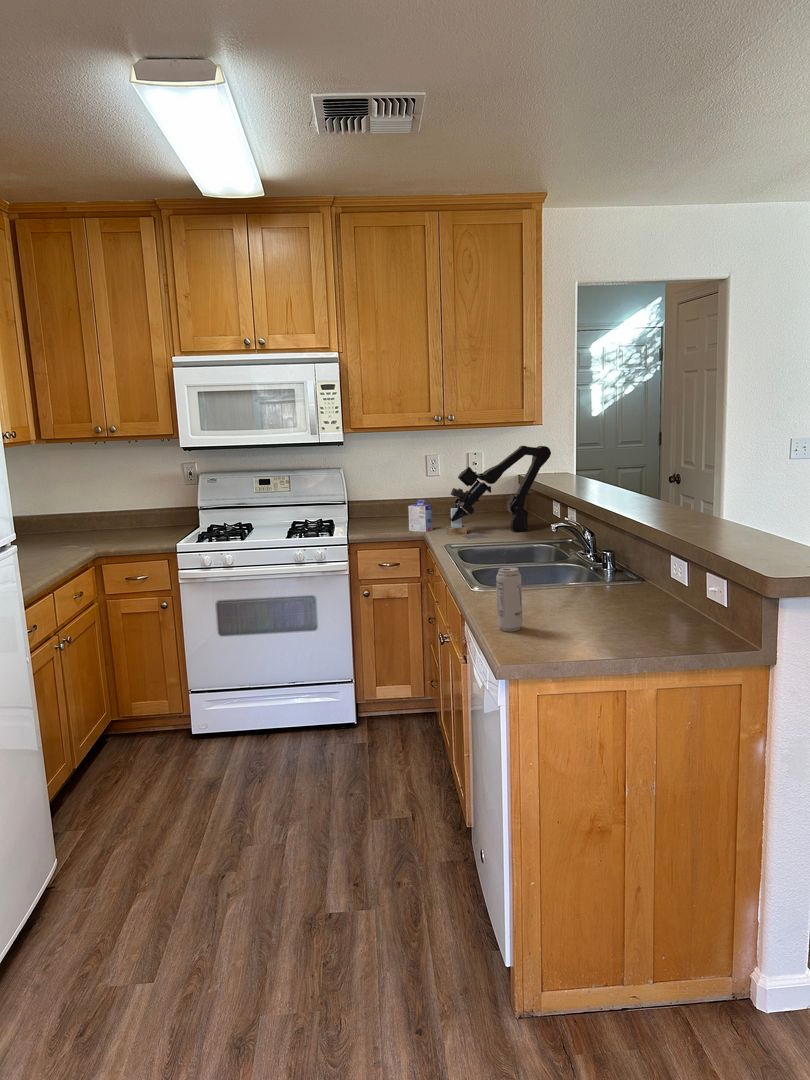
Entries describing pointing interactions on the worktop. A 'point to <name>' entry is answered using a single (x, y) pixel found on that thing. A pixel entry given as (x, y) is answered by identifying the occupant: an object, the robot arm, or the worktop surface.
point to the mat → (475, 536)
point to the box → (456, 530)
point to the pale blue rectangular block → (457, 522)
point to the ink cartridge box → (420, 517)
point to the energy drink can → (509, 599)
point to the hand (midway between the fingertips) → (450, 520)
